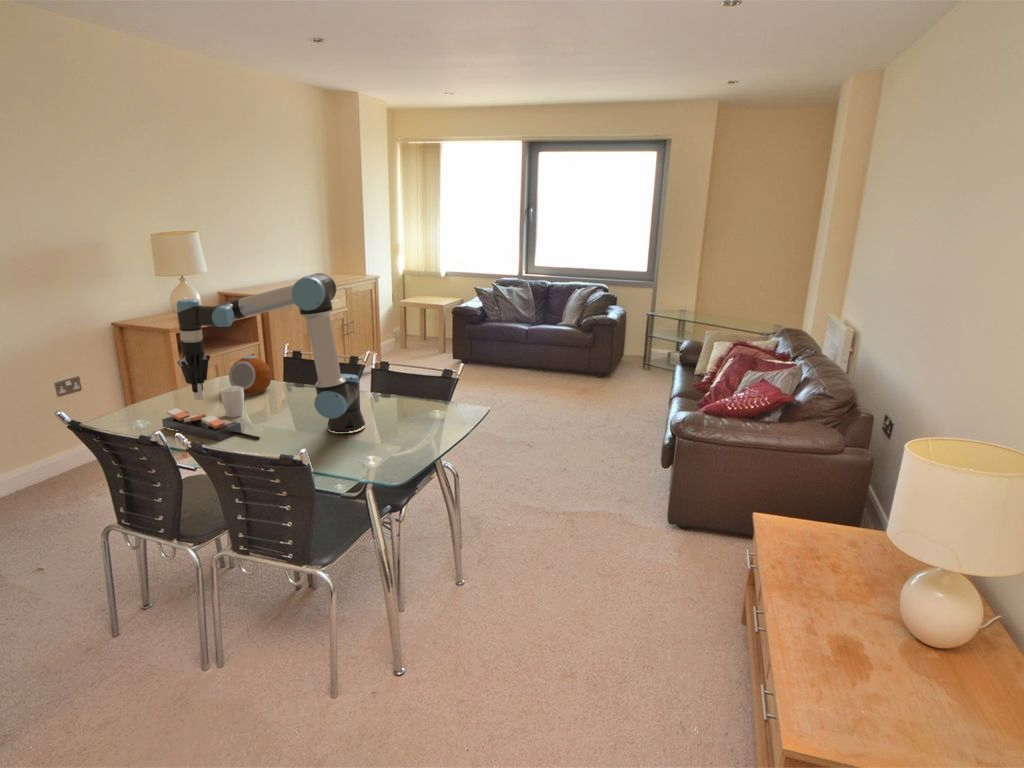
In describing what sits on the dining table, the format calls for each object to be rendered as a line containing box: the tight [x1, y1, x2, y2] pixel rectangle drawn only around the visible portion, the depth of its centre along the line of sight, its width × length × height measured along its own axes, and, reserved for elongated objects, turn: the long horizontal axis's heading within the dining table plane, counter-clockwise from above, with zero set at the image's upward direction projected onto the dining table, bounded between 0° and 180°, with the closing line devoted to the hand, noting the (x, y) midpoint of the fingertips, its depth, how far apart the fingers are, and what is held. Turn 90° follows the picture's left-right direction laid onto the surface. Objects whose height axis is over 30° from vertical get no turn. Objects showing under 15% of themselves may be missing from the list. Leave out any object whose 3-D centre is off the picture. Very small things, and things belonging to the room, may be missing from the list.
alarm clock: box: [228, 355, 272, 395], centre depth 291 cm, size 19×18×17 cm
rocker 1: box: [166, 407, 189, 421], centre depth 241 cm, size 7×4×1 cm, turn 68°
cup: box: [220, 385, 245, 419], centre depth 258 cm, size 9×9×12 cm
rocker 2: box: [184, 413, 207, 422], centre depth 237 cm, size 7×4×1 cm, turn 68°
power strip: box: [161, 411, 261, 442], centre depth 239 cm, size 42×11×5 cm, turn 68°
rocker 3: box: [202, 415, 225, 429], centre depth 234 cm, size 7×4×1 cm, turn 68°
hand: (198, 399), depth 234 cm, fingers closed
